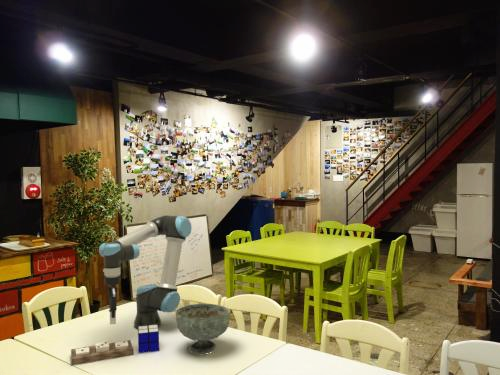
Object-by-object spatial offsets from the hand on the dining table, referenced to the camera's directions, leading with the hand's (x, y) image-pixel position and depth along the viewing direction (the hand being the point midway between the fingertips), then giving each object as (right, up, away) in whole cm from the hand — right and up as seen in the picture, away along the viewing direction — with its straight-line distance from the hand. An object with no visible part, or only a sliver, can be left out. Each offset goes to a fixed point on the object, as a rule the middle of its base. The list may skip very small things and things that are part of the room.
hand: (112, 323), depth 209 cm
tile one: (-13, -14, -5) cm, 20 cm away
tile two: (+4, -14, +2) cm, 14 cm away
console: (-5, -15, -1) cm, 16 cm away
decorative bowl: (+44, -15, +5) cm, 46 cm away
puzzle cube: (+16, -15, +7) cm, 23 cm away
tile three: (-5, -13, -1) cm, 14 cm away
